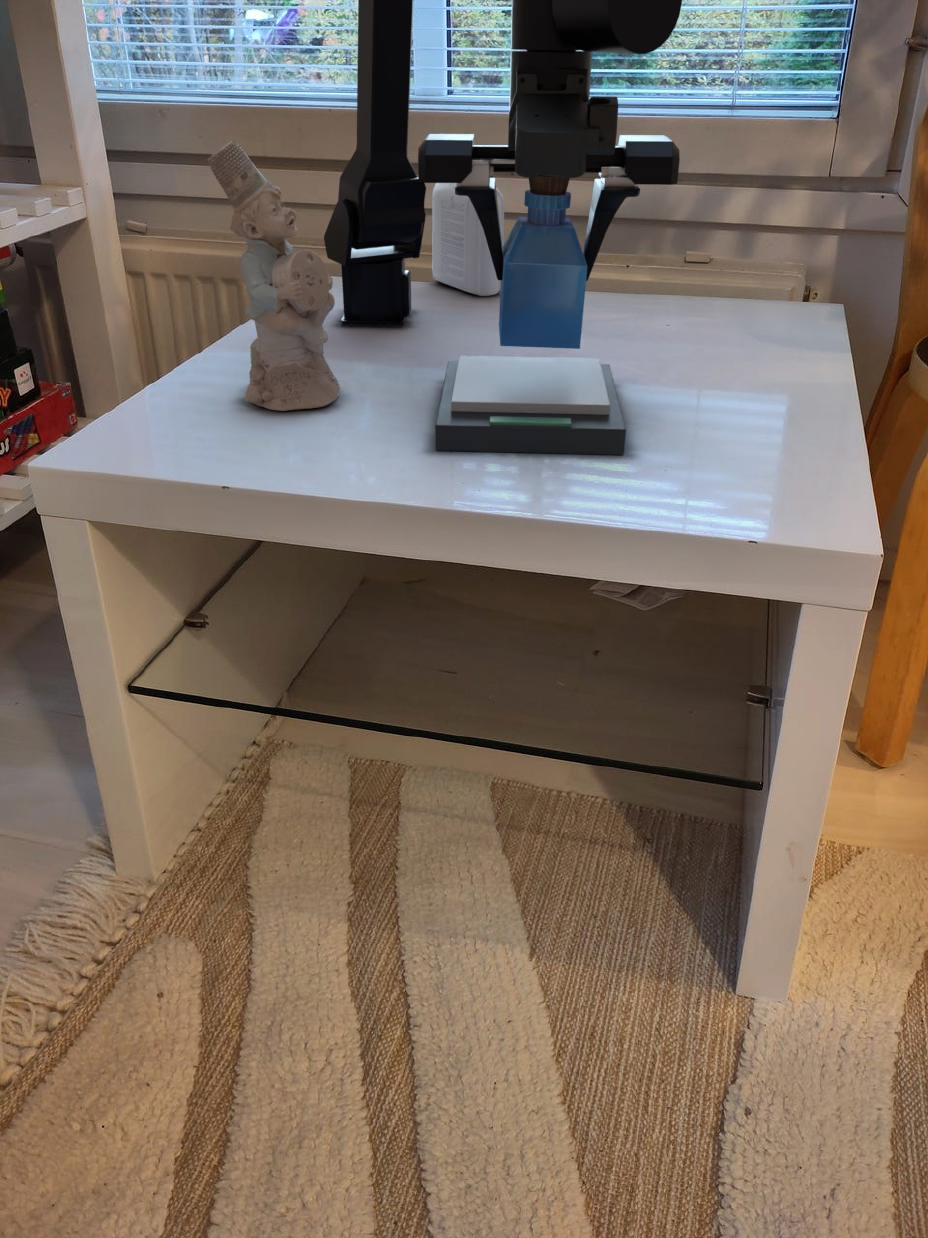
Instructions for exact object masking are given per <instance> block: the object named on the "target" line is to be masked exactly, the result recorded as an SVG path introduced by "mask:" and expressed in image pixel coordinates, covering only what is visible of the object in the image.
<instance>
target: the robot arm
mask: <svg viewBox="0 0 928 1238" xmlns="http://www.w3.org/2000/svg"><path fill="white" fill-rule="evenodd" d="M682 4H683V0H511V19H510V20H511V21H510V22H511V24H510V61H509V62H510V65H509V66H510V67H509V70H510V71H509V107H508V109H509V110H508V125H507V126H508V130H507V144H475V134H474V133H429V134H428V135H427V137H426V138H425V139H424V140H423V141H422V142H421V144H420V145H419V147H418V149H417V150H418V151H417V152H418V153H417V171H418V172H417V171H416V170H415V168H414V166H413V164H412V163H411V160H410V159H409V156H408V155H409V154H408V145H409V144H408V143H409V122H410V121H409V118H410V117H409V116H410V95H411V71H412V46H413V24H414V0H357V5H358V6H357V7H358V8H357V81H356V82H357V83H356V87H357V89H356V144H355V145H356V147H355V151H354V152H353V154H352V156H351V157H350V159H349V161H348V163H347V164H346V166H345V168H344V170H343V171H342V172H341V175H340V176H339V182H338V183H339V184H338V197H337V201H336V204H335V206H334V209H333V212H332V214H331V217H330V219H329V221H328V224H327V227H326V230H325V233H324V235H323V243H324V247H325V252H326V257H327V259H329V260H331V261H333V262H335V263H337V264H340V265H341V266H340V267H341V285H342V299H343V300H342V301H343V302H342V304H343V315H342V317H341V319H340V322H341V323H340V325H343V326H382V327H383V326H386V327H391V326H392V327H400V326H404V324H405V322H406V319H407V317H409V316H410V315H411V312H412V274H411V271H410V270H407V269H406V259H419V258H420V254H421V249H422V243H423V237H424V229H425V223H426V217H427V215H426V210H425V202H426V201H425V200H426V193H427V187H426V184H436V183H456V185H455V194H456V195H460V196H468V197H469V199H470V201H471V203H472V205H473V207H474V209H475V211H476V213H477V215H478V218H479V220H480V222H481V225H482V227H483V230H484V234H485V237H486V240H487V244H488V248H489V251H490V255H491V258H492V262H493V265H494V269H495V272H496V276H497V279H498V280H503V251H502V241H501V231H500V221H499V212H498V202H497V192H496V188H497V183H496V177H494V174H495V173H515V174H516V175H518V176H520V177H522V178H527V179H529V178H536V177H537V176H538V175H563V176H564V177H565V178H570V179H576V178H580V177H582V176H584V175H585V173H586V174H587V173H591V174H592V173H595V174H596V173H598V177H600V178H594V184H593V188H592V195H591V202H590V206H589V207H590V208H589V214H588V215H589V216H588V220H587V227H586V233H585V238H584V239H585V240H584V246H583V250H582V252H583V255H584V258H585V260H586V263H587V276H586V282H588V281H589V279H590V275H591V273H592V270H593V268H594V265H595V263H596V260H597V257H598V255H599V252H600V250H601V247H602V244H603V241H604V239H605V237H606V233H607V232H608V230H609V227H610V225H611V223H612V222H613V220H614V218H615V215H616V214H617V212H618V210H619V209H620V208H621V205H623V203H624V202H625V200H626V199H627V198H636V197H639V196H640V195H641V188H640V187H639V186H638V185H642V186H643V185H646V186H647V185H653V186H654V185H661V186H670V185H678V180H679V171H680V170H679V169H680V161H681V160H680V159H681V158H680V157H681V155H680V148H679V147H678V146H677V145H676V143H675V142H674V141H673V140H672V139H670V138H669V137H668V136H666V135H663V134H660V135H659V134H657V135H656V134H619V137H618V144H617V133H618V121H619V119H618V118H619V100H618V97H617V96H591V97H590V94H591V80H592V79H591V77H592V61H593V53H602V54H603V53H604V54H605V53H606V54H607V53H608V54H626V55H627V54H629V55H646V54H649V53H653V52H654V51H657V49H659V48H660V47H662V46H663V45H664V44H665V43H666V42H667V40H668V39H669V38H670V37H671V35H672V33H673V32H674V30H675V29H676V26H677V22H678V20H679V18H680V14H681V10H682ZM616 144H617V145H616ZM417 173H418V175H417Z"/></svg>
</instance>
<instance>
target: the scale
mask: <svg viewBox="0 0 928 1238" xmlns="http://www.w3.org/2000/svg"><path fill="white" fill-rule="evenodd" d="M445 370H446V371H445V375H444V381H443V386H442V391H441V394H440V395H441V396H440V400H439V405H438V410H437V416H436V420H435V425H434V430H435V431H434V432H435V433H434V436H435V438H434V439H435V441H434V442H435V444H434V445H435V447H434V448H435V450H434V451H440V452H441V451H443V452H444V451H445V452H446V451H447V452H483V453H484V452H487V453H529V454H530V453H531V454H572V455H575V454H576V455H613V456H615V455H616V456H617V455H618V456H624V454H625V445H626V437H627V436H626V435H627V428H626V424H625V421H624V416H623V413H622V409H621V404H620V401H619V397H618V393H617V389H616V385H615V382H614V381H615V380H614V377H613V372H612V369H611V365H610V364H608V363H601V359H600V358H599V357H564V356H563V357H561V356H560V357H555V356H510V355H509V356H506V355H504V356H503V355H463V354H462V355H458V360H448V361H447V366H446V369H445Z"/></svg>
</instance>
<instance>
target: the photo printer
mask: <svg viewBox="0 0 928 1238" xmlns="http://www.w3.org/2000/svg"><path fill="white" fill-rule="evenodd" d="M455 185H456V183H434V186H433V190H432V195H431V197H432V200H431V203H432V207H431V208H432V209H431V211H432V212H431V215H432V216H431V218H432V225H431V227H432V230H431V231H432V233H431V235H432V237H431V239H432V246H431V247H432V248H431V249H432V251H431V253H432V255H431V257H432V258H431V259H432V261H431V262H432V263H431V267H432V268H431V270H432V271H431V272H432V273H431V274H432V278H433V280H435V281H437V282H439V283H442V284H445V285H448V286H450V287H453V288H456V289H458V290H461V291H464V292H467V293H469V294H473V295H476V296H479V297H489V296H495V295H497V294H498V293H499V292H501V280H498V279H497V276H496V272H495V269H494V265H493V262H492V258H491V255H490V251H489V248H488V244H487V240H486V237H485V234H484V230H483V227H482V225H481V222H480V220H479V218H478V215H477V213H476V211H475V209H474V207H473V205H472V203H471V201H470V199H469V197H468V196H460V195H456V194H455ZM496 192H497V202H498V212H499V221H500V231H501V241H502V251H503V246H504V233H505V232H504V230H505V199H504V196H503V193H502V192H501V191H500V190H499V188H497V187H496Z"/></svg>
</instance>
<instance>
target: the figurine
mask: <svg viewBox="0 0 928 1238" xmlns="http://www.w3.org/2000/svg"><path fill="white" fill-rule="evenodd" d="M207 163H208V165H209V168H210V169H211V172H212V173H213V175H214V177H215V179H216V180H217V182H218V184H219V185H220V187H221V188H222V191H224V193H225V194H226V196H227V198H228V200H229V202H230V204H231V206H232V207H233V209H232V211H233V215H232V216H231V217H232V218H231V222H230V230H231V231H232V232H233V234H235V235H237V236H238V237H242V238H243V239H247V240H246V242H245V243H246V246H247V248H246V250H245V251H244V252H242V254H241V257H240V267H241V274H242V278H243V281H244V284H245V289H246V293H247V295H248V299H249V300H250V301H249V303H248V305H247V306H246V308H245V310H244V314H245V316H246V317H247V318H249V319H250V320H252V321H253V322H254V326H255V330H256V337H257V338H255V339H254V340H253V341H252V342H251V343H250V346H249V348H250V365H251V366H250V369H249V374H248V375H249V384H248V385H247V388H246V391H245V394H244V400H245V402H246V403H250V404H255V405H257V406H258V407H261V408H262V407H263V408H265V409H267V410H272V411H277V412H278V411H280V412H285V411H286V412H287V411H293V410H305V409H314V408H316V409H317V408H322V407H325V406H328V405H329V404H331V403H332V402H334V401H335V400H337V398H338V396H339V394H340V391H341V386H340V383H339V380H338V379H337V377H336V376H335V375H334V373H333V371H332V369H331V368H330V366H329V364H328V363H327V361H326V358H325V356H324V354H325V350H324V344H325V343H327V342H328V340H329V334H328V332H327V330H326V329H325V328H324V327H323V326H324V325H323V324H324V322H325V320H326V318H327V316H328V315H329V314H330V312H331V311H333V309H334V307H335V305H336V304H335V297H334V295H333V294H332V293H331V292H330V291H331V290H332V289H333V284H334V281H333V277H332V275H329V274H328V273H329V272H328V269H327V266H326V265H325V263H324V261H323V260H322V258H321V257H320V255H318V254H317V253H316V252H315V251H313V250H310V249H306V248H305V249H301V250H298V251H297V252H296V251H295V249H294V247H293V246H292V244H290V242H289V241H288V240H287V239H289V238H293V237H295V236H297V235H298V229H297V223H296V219H297V217H298V216H297V215H298V214H297V212H296V210H294V209H292V208H291V207H286V205H285V201H284V200H283V199H282V196H281V195H282V189H281V188H280V187H279V186H276V185H274V184H272V182H271V181H270V180H267V179H266V178H265V177H264V176H263V174H262V173H261V172H260V171H259V169H258V168H257V167H256V165H255V164H254V163H253V162H252V159H251V158H250V157H249V156H248V154H247V153H246V152H245V150H244V149H243V148H242V146H240V144H239V143H238V142H237V141H236V140H235V138H233V139H231V140H229V141H228V142H226V143H225V144H223V145H222V146H220V147H219V148H217V149H216V150H215V152H214V153H212V154H211V155H210V157H208V158H207Z"/></svg>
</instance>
